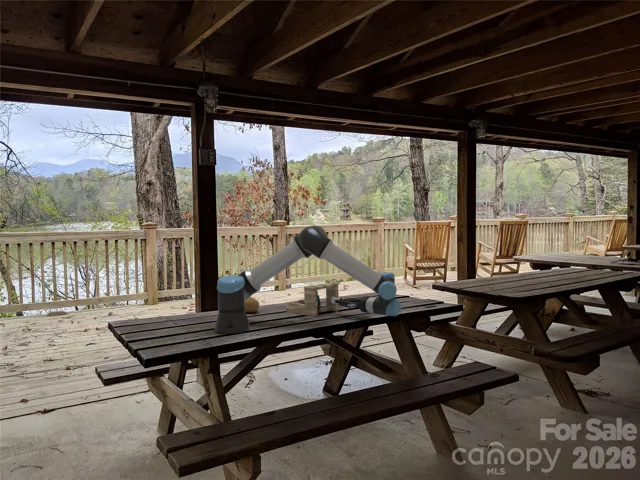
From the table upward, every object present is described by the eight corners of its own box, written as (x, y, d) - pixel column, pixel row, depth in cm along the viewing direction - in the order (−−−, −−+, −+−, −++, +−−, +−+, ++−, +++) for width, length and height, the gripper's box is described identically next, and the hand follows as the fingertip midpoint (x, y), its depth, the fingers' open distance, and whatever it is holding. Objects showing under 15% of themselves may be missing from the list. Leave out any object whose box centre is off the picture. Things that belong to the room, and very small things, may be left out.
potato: (246, 315, 238) (246, 300, 237) (236, 311, 250) (236, 296, 249) (264, 313, 243) (263, 297, 242) (253, 309, 255) (253, 294, 254)
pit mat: (330, 309, 249) (330, 308, 249) (320, 307, 253) (320, 307, 253) (340, 306, 254) (340, 306, 254) (330, 305, 259) (330, 304, 259)
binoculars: (296, 293, 243) (309, 289, 250) (298, 313, 244) (311, 308, 251) (309, 295, 237) (322, 290, 244) (311, 315, 238) (324, 310, 245)
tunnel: (314, 316, 230) (314, 288, 229) (286, 311, 245) (285, 284, 244) (338, 310, 243) (338, 283, 242) (310, 306, 258) (309, 281, 257)
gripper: (361, 315, 214) (323, 309, 230) (378, 310, 224) (340, 305, 240) (361, 299, 214) (323, 294, 230) (377, 295, 223) (340, 291, 239)
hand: (332, 300), depth 235 cm, fingers closed
